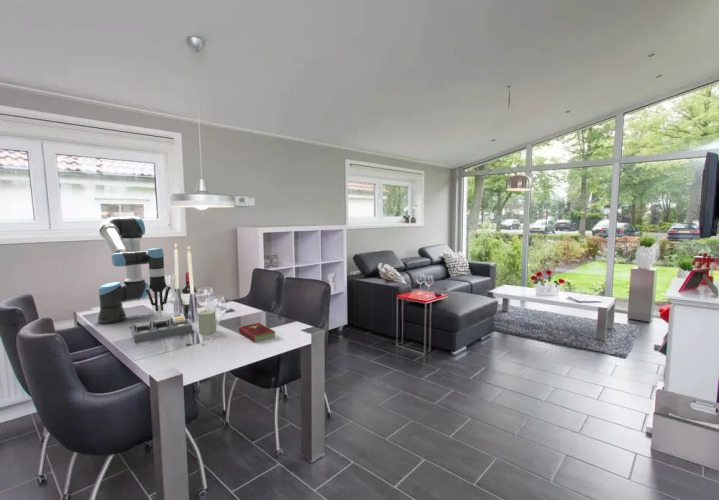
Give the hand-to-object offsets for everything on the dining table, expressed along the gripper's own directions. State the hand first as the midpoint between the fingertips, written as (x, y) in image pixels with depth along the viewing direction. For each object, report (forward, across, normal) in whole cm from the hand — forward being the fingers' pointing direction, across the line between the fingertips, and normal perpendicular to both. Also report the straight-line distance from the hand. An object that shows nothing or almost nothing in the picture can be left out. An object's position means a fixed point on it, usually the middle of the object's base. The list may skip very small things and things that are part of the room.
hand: (159, 316), depth 211 cm
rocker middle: (+2, 0, -3) cm, 4 cm away
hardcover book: (+8, +41, -42) cm, 59 cm away
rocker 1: (+2, -9, -3) cm, 10 cm away
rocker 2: (+2, +9, -3) cm, 10 cm away
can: (+8, +21, -19) cm, 30 cm away
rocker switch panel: (+8, 0, -6) cm, 10 cm away
